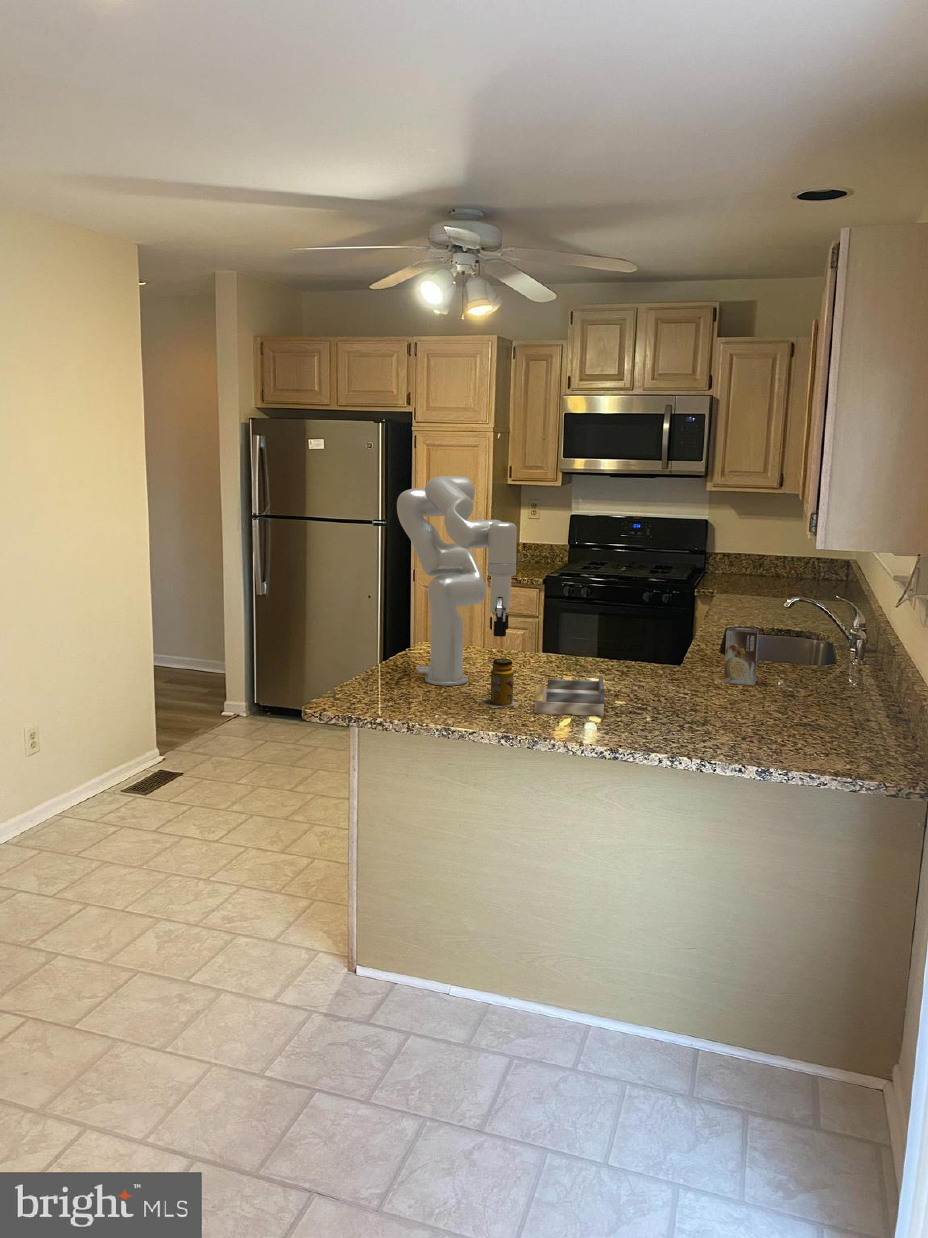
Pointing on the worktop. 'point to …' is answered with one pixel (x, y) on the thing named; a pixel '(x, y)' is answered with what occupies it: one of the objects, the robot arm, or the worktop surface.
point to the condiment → (501, 684)
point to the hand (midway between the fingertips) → (501, 632)
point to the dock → (570, 697)
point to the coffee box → (741, 656)
